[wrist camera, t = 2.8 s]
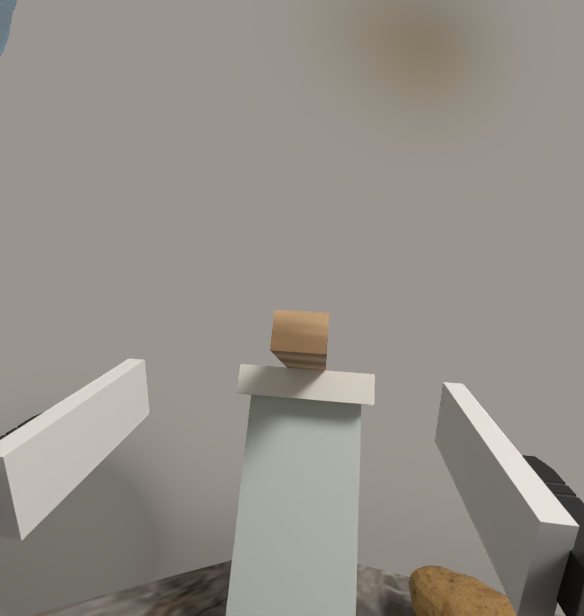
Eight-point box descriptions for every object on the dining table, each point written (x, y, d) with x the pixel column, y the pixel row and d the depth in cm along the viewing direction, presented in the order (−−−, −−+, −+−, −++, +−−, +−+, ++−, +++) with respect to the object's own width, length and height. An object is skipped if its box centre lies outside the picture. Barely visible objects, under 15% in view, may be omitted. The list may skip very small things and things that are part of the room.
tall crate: (368, 771, 25) (374, 374, 33) (193, 734, 27) (240, 363, 35) (348, 612, 44) (355, 385, 52) (247, 596, 46) (269, 378, 54)
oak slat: (326, 354, 23) (329, 312, 24) (270, 350, 23) (274, 309, 24) (324, 382, 51) (325, 363, 52) (299, 380, 52) (300, 361, 53)
